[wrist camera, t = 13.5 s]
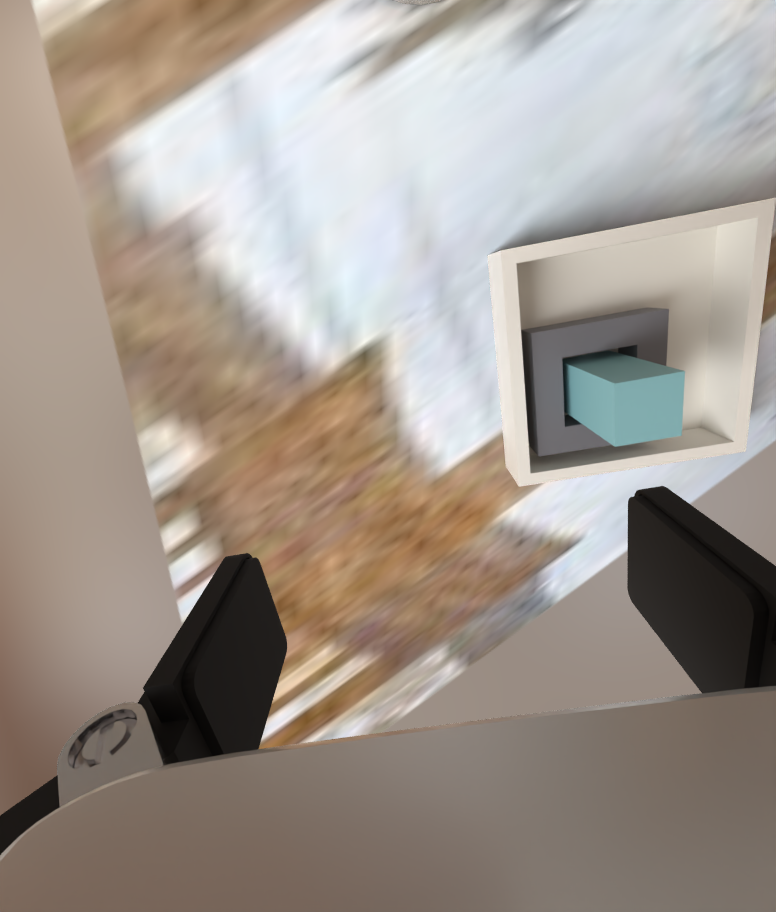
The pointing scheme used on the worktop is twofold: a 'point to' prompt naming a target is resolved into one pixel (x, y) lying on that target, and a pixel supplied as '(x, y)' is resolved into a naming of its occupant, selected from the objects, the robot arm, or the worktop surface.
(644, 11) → the worktop surface
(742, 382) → the walled box
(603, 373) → the peg
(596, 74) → the worktop surface
